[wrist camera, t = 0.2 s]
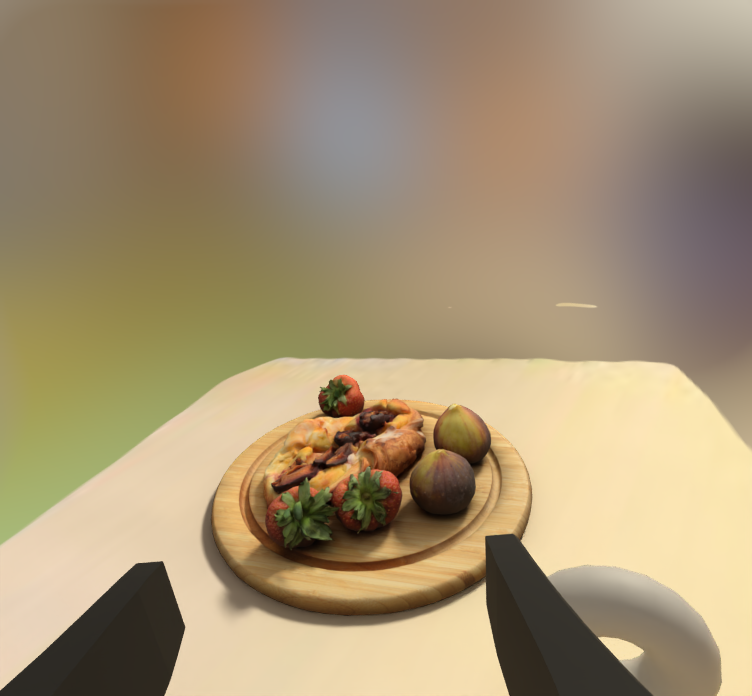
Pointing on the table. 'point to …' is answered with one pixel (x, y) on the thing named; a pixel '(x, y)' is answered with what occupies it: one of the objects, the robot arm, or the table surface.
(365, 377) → the table surface
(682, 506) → the table surface
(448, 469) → the wooden plate with food
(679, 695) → the donut
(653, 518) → the table surface
